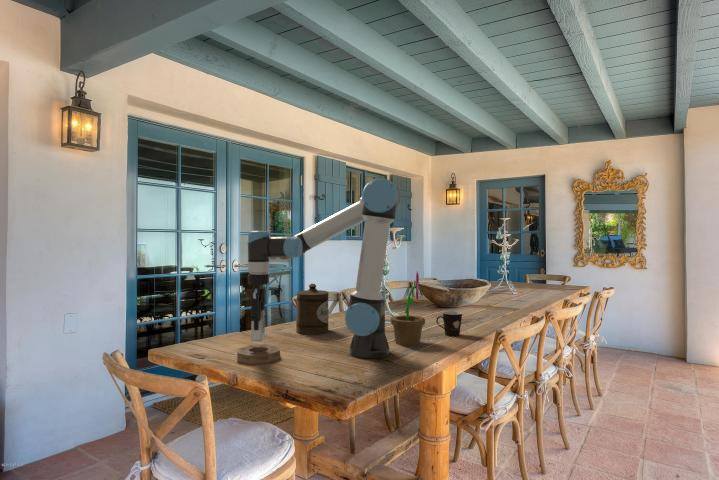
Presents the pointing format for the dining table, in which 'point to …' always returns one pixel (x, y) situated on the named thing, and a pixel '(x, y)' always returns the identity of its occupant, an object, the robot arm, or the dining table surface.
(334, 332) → the dining table surface
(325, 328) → the wooden container
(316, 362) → the dining table surface
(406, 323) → the flowerpot
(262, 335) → the light grey rectangular block
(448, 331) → the coffee mug
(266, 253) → the robot arm
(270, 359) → the brown wooden ring
